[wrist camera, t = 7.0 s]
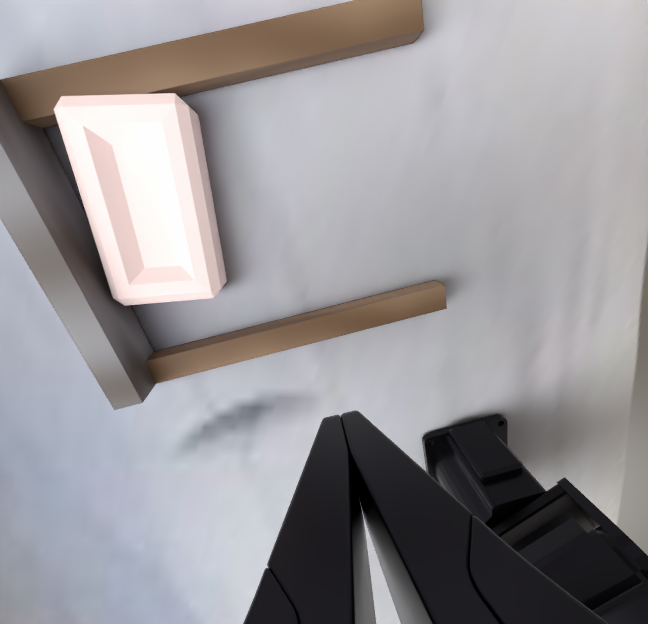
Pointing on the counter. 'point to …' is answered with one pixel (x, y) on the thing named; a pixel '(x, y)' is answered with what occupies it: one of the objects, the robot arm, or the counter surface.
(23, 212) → the guide channel
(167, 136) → the soap bar
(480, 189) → the counter surface
